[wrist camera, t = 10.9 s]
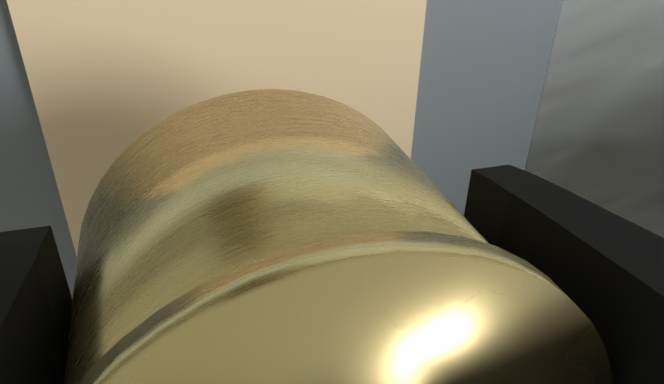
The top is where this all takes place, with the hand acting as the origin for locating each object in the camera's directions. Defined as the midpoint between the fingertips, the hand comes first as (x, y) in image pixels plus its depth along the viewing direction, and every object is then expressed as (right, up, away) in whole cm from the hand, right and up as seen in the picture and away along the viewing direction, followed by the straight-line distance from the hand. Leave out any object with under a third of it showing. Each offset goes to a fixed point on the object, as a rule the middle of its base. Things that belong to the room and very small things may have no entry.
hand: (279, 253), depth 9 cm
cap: (0, 0, +1) cm, 1 cm away
